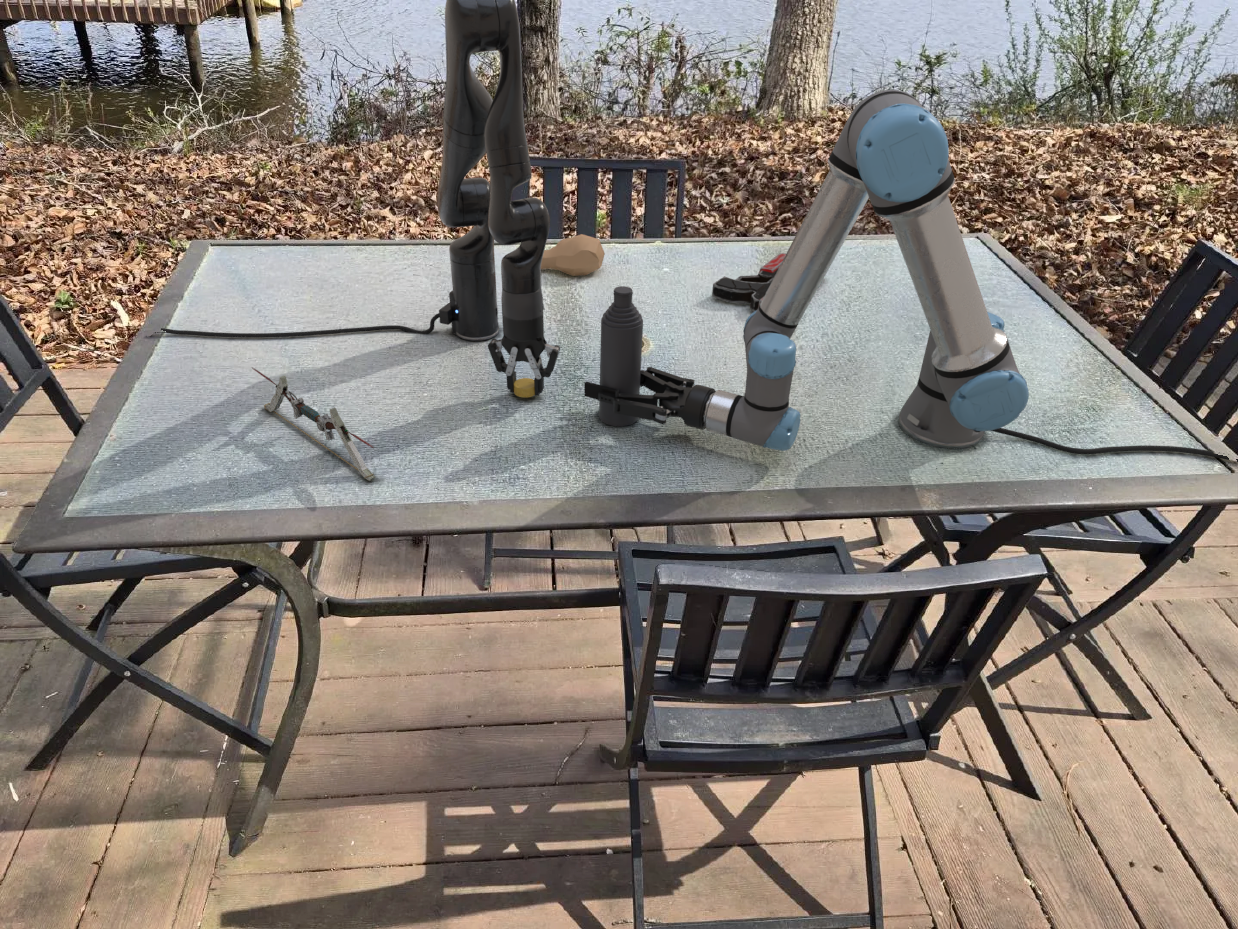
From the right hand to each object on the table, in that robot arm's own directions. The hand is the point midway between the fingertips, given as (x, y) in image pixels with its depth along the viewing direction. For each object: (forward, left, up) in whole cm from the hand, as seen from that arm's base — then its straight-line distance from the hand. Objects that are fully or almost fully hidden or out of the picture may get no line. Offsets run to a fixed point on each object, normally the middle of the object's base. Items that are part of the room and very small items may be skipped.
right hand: (596, 379), depth 162 cm
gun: (-40, -61, -7) cm, 73 cm away
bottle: (-4, +2, -7) cm, 8 cm away
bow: (+48, +15, -7) cm, 51 cm away
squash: (+12, -69, -7) cm, 71 cm away
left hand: (+14, -4, -6) cm, 15 cm away
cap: (+14, -4, -4) cm, 15 cm away
